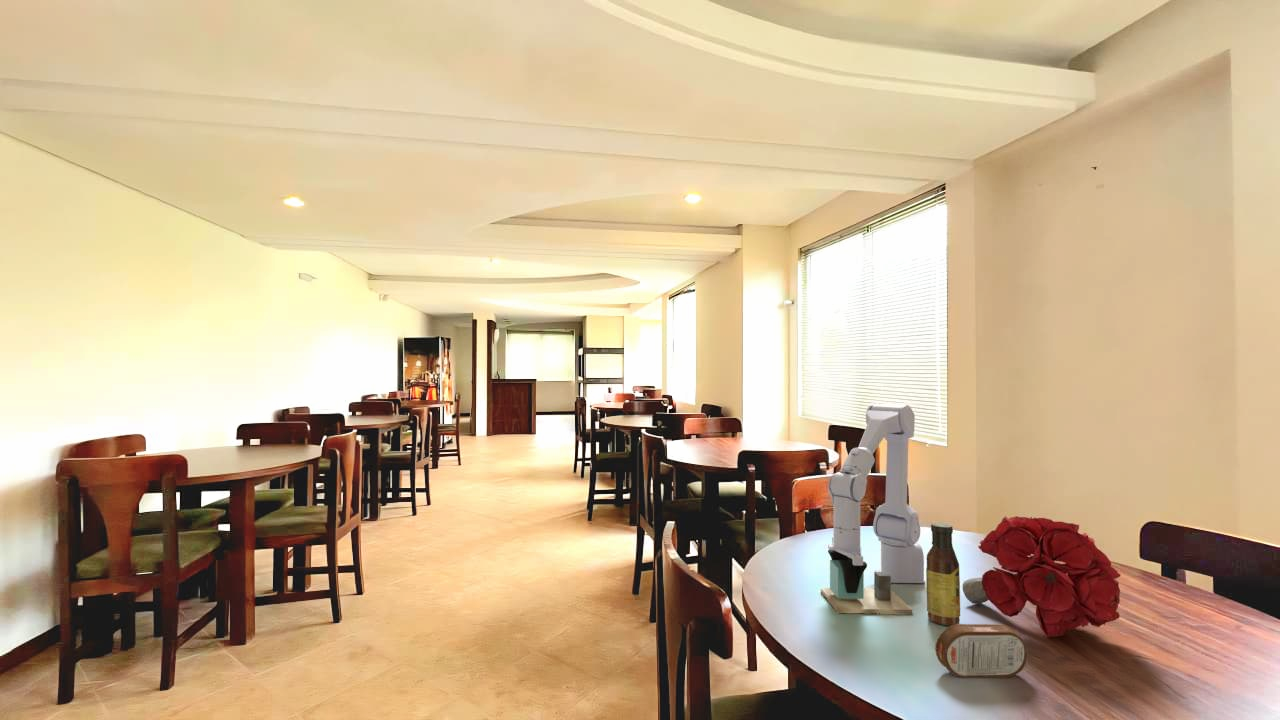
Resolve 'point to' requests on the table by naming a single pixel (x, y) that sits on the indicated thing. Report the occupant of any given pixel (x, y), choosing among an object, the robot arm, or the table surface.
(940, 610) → the sauce bottle
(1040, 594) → the bouquet
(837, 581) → the pale aqua cube
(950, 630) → the tin
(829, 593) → the birch board
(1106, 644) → the table surface
